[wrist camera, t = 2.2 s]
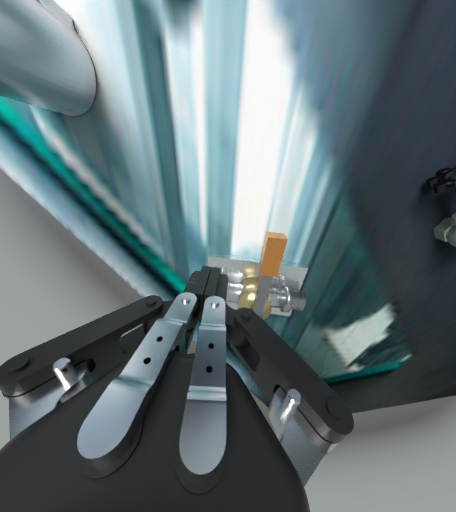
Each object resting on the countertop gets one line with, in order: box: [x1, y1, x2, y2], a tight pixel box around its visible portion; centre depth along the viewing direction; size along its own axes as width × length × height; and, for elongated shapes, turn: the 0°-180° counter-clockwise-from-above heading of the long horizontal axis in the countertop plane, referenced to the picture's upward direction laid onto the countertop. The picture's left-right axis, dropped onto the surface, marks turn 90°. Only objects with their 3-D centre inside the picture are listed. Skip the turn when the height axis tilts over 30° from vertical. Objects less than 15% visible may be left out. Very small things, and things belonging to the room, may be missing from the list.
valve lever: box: [252, 232, 287, 320], centre depth 24 cm, size 15×2×2 cm, turn 174°
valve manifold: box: [208, 252, 308, 319], centre depth 31 cm, size 12×18×8 cm, turn 84°
